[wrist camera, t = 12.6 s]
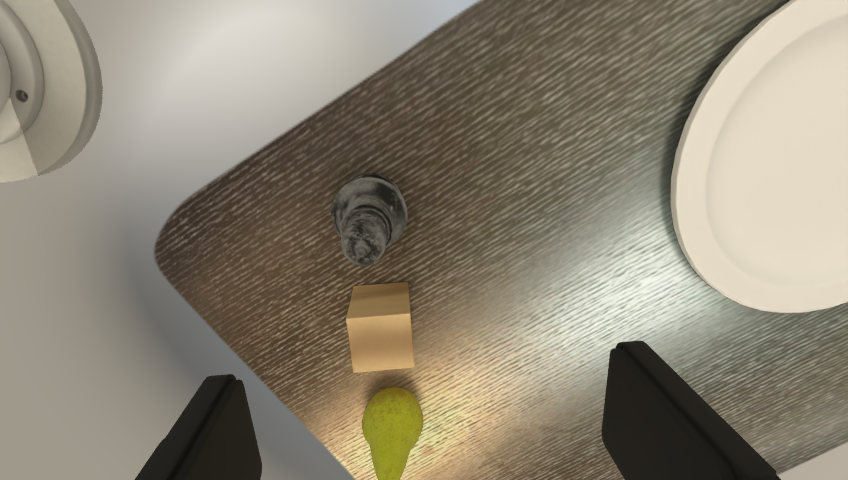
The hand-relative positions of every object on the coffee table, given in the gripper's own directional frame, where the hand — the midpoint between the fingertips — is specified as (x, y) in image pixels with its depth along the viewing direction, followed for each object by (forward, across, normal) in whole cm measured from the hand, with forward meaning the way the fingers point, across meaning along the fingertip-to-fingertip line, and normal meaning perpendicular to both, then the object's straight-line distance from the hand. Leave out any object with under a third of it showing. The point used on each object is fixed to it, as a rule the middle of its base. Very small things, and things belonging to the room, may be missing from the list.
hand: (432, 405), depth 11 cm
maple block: (+26, +3, +11) cm, 29 cm away
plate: (+26, -36, 0) cm, 45 cm away
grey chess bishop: (+26, +3, +1) cm, 27 cm away
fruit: (+26, +3, +21) cm, 34 cm away
